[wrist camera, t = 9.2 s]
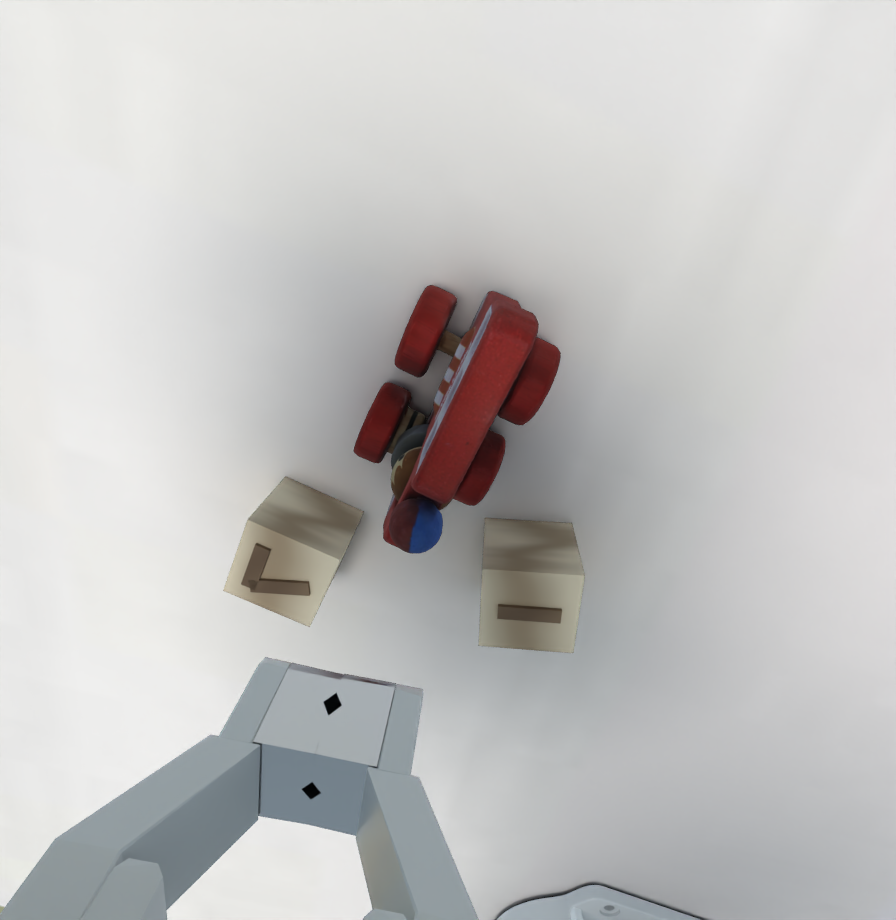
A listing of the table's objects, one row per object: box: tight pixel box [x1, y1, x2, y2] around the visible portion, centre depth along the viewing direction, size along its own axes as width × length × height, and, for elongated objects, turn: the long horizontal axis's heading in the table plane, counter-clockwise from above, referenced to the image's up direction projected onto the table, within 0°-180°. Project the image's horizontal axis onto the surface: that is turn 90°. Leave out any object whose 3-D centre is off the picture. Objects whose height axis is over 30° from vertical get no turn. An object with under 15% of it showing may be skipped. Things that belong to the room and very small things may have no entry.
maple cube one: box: [478, 518, 585, 653], centre depth 28 cm, size 5×5×5 cm
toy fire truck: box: [354, 285, 561, 553], centre depth 22 cm, size 7×12×10 cm, turn 154°
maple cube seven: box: [223, 477, 364, 627], centre depth 29 cm, size 5×5×5 cm
